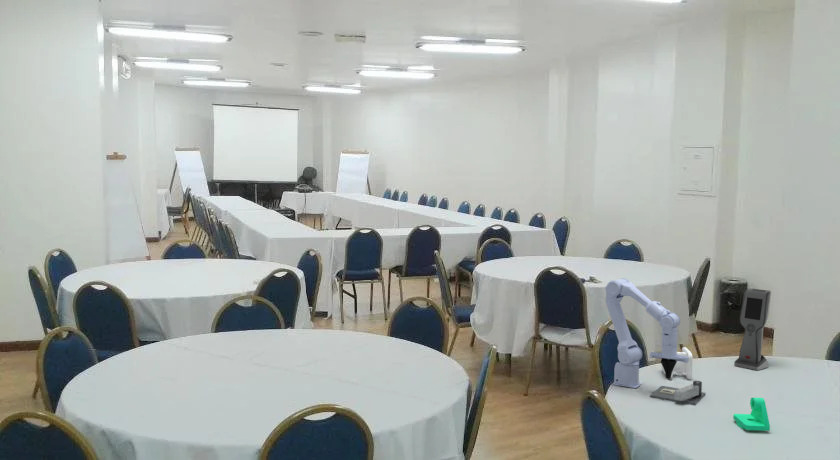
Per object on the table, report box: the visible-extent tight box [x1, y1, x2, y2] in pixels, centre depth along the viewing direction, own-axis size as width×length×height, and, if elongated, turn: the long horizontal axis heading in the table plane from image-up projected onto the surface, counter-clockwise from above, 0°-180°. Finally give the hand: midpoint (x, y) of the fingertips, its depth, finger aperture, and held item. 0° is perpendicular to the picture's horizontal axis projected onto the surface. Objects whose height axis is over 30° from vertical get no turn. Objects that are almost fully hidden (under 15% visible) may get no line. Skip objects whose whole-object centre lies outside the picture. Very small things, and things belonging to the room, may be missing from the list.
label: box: [660, 388, 675, 394], centre depth 274 cm, size 5×5×1 cm
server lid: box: [649, 385, 706, 406], centre depth 271 cm, size 17×16×1 cm
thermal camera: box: [733, 288, 772, 372], centre depth 315 cm, size 12×13×35 cm
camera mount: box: [732, 397, 771, 432], centre depth 236 cm, size 12×8×10 cm, turn 176°
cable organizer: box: [661, 346, 694, 380], centre depth 299 cm, size 15×11×12 cm
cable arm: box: [675, 380, 703, 401], centre depth 265 cm, size 16×3×5 cm, turn 130°
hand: (668, 377), depth 273 cm, fingers closed
